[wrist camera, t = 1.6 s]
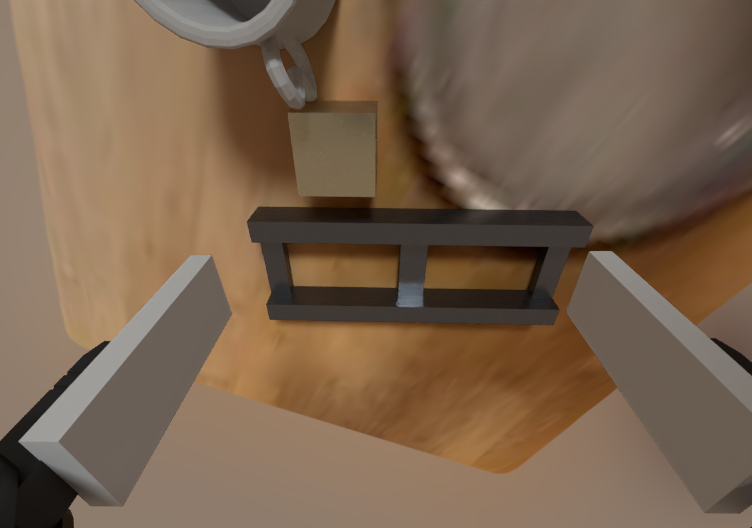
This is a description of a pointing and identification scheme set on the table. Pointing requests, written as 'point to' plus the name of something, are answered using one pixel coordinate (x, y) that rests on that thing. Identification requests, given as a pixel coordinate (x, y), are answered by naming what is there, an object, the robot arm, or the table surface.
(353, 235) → the rail
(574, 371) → the table surface
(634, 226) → the table surface
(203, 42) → the mug
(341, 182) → the brushed top tan cube
